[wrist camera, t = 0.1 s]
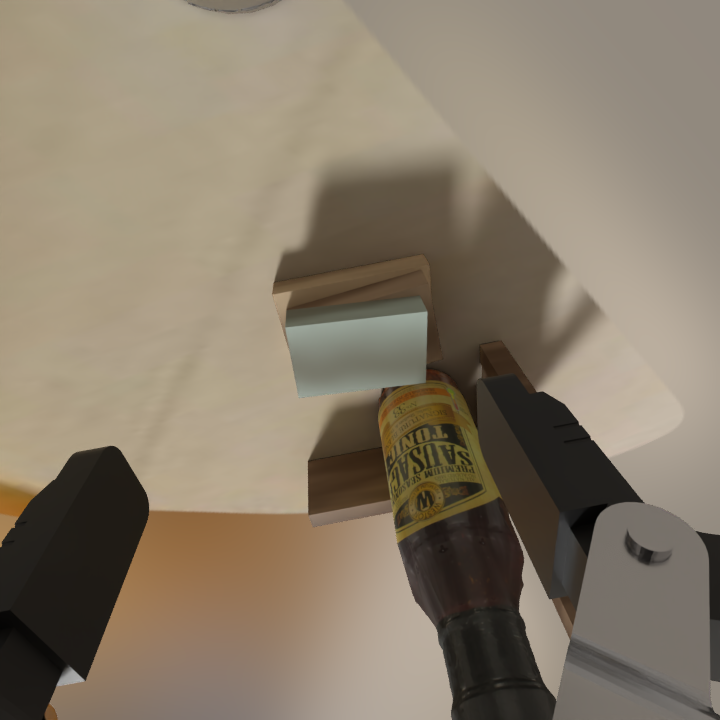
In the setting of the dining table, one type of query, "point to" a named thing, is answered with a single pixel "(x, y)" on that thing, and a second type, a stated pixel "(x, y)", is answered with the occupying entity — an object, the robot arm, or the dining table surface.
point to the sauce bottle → (460, 551)
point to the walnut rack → (369, 477)
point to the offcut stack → (360, 326)
